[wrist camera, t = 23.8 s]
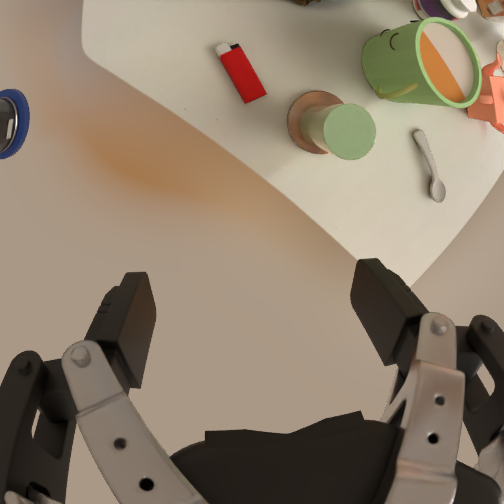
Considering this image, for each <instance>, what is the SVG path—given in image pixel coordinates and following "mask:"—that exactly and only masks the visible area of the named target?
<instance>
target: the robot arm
mask: <svg viewBox="0 0 504 504" xmlns="http://www.w3.org/2000/svg"><path fill="white" fill-rule="evenodd" d="M18 128H19V110H18V107H17V104H16V102H15V101H14V100H13V99H12V98H10V97H0V153H1V152H3V151H6V150H7V149H9V148H10V146H11V145H12V144H13V142H14V140H15V138H16V136H17V133H18ZM350 297H351V304H352V307H353V309H354V310H355V312H356V314H357V316H358V318H359V319H360V321H361V323H362V325H363V326H364V328H365V330H366V332H367V334H368V336H369V337H370V339H371V341H372V343H373V345H374V347H375V348H376V350H377V352H378V354H379V356H380V358H381V360H382V362H383V364H384V365H385V366H388V365H392V364H397V366H398V368H397V370H396V373H395V376H394V380H393V384H392V387H391V391H390V394H389V398H388V401H387V404H386V407H385V410H384V413H383V415H382V417H381V419H380V421H375V420H364V418H363V415H362V413H361V411H357V412H353V413H349V414H344V415H340V416H335V417H331V418H326V419H323V420H321V421H319V422H317V423H314V424H312V425H310V426H307V427H305V428H302V429H300V430H297V431H295V432H292V433H289V434H280V433H271V432H262V431H253V430H246V429H243V430H226V431H205V441H201V442H198V443H194V444H191V445H189V446H187V447H185V448H182V449H181V450H179V451H177V452H176V453H174V454H173V455H171V456H169V455H168V454H167V453H166V451H165V450H164V449H163V447H162V446H161V445H160V443H159V442H158V441H157V439H156V438H155V437H154V435H153V434H152V432H151V431H150V430H149V428H148V427H147V426H146V424H145V422H144V421H143V420H142V418H141V416H140V415H139V413H138V412H137V410H136V409H135V407H134V406H133V404H132V402H131V401H130V399H129V397H128V394H129V390H130V388H139V389H140V388H141V384H142V379H143V374H144V369H145V364H146V360H147V356H148V351H149V347H150V342H151V338H152V334H153V329H154V326H155V322H156V306H155V302H154V298H153V294H152V290H151V286H150V283H149V278H148V275H147V273H146V272H128V273H126V274H125V276H124V278H123V280H122V282H121V284H120V286H114V287H113V288H112V289H111V290H110V291H109V292H108V293H107V294H106V295H105V297H104V299H103V301H102V303H101V306H100V307H99V309H98V311H97V313H96V315H95V317H94V319H93V321H92V323H91V325H90V327H89V330H88V332H87V334H86V336H85V338H84V340H82V341H79V342H76V343H74V344H72V345H71V346H70V347H69V348H67V349H66V351H65V352H64V354H63V356H62V358H61V359H55V360H50V361H44V362H43V360H42V359H41V357H40V356H39V355H38V354H37V353H36V352H34V351H24V352H22V353H20V354H18V355H17V356H16V357H15V358H14V359H13V360H12V362H11V364H10V366H9V368H8V370H7V372H6V374H5V377H4V379H3V381H2V384H1V386H0V504H65V498H66V487H67V478H68V471H69V463H70V457H71V450H72V444H73V439H74V434H75V429H76V424H77V423H78V426H79V428H80V431H81V433H82V435H83V438H84V440H85V442H86V444H87V446H88V448H89V451H90V452H91V455H92V457H93V458H94V461H95V462H96V464H97V466H98V468H99V470H100V472H101V473H102V475H103V477H104V479H105V480H106V482H107V484H108V485H109V487H110V489H111V491H112V492H113V494H114V496H115V497H116V499H117V500H118V502H119V503H120V504H504V332H503V331H502V329H501V328H500V327H499V326H498V325H497V323H496V322H495V321H494V320H492V319H491V318H489V317H487V316H484V315H477V316H474V317H473V319H472V321H471V323H470V325H469V326H468V327H467V326H455V325H454V323H453V322H452V320H451V319H449V318H448V317H447V316H445V315H443V314H440V313H436V312H429V311H428V310H427V309H426V307H425V306H424V305H423V304H422V302H421V301H420V300H419V299H418V298H417V296H416V295H415V294H414V293H413V292H411V289H410V288H409V287H408V286H407V285H406V283H405V282H404V281H403V280H402V279H401V278H400V276H399V275H397V274H395V273H394V272H392V271H391V270H389V269H387V268H386V267H385V266H384V265H383V264H382V263H381V262H380V260H379V259H377V258H370V259H359V260H358V261H357V264H356V268H355V273H354V279H353V283H352V288H351V293H350ZM483 363H484V365H485V366H486V368H487V370H488V371H489V373H490V375H491V376H492V378H493V380H494V382H495V389H494V392H493V393H492V395H491V396H489V394H488V392H487V390H486V388H485V387H484V385H483V383H482V382H481V380H480V378H479V377H478V375H477V371H478V370H479V368H480V367H481V365H482V364H483ZM37 409H38V410H39V411H40V415H39V419H38V422H37V426H36V430H35V434H34V438H32V432H31V431H32V425H33V422H34V418H35V415H36V412H37ZM462 420H463V422H464V424H465V426H466V428H467V431H468V433H469V435H470V438H471V440H472V442H473V445H474V447H475V449H476V452H477V454H478V457H479V458H478V463H477V464H476V465H475V466H474V469H473V468H471V467H469V466H467V465H465V464H463V463H461V462H459V461H457V460H456V459H457V454H458V448H459V442H460V435H461V428H462Z"/></svg>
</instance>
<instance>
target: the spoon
mask: <svg viewBox="0 0 504 504" xmlns="http://www.w3.org/2000/svg"><path fill="white" fill-rule="evenodd" d="M413 136H414V138H415V140H416V142H417V143H418V145H419V147H420V148H421V150H422V152H423V154H424V156H425V158H426V160H427V162H428V165H429V167H430V170H431V174H432V182H431V185H430V194H431V197H432V198H433V200H434V201H435V202H437V203H441V202H442V201H443V200H444V199H445V195H446V190H445V186H444V184H443V182H442V181H441V180H440V179H439V178H438V174H437V169H436V165H435V162H434V158H433V155H432V153H431V150H430V147H429V144H428V141H427V138H426V136H425V133H424V131H423V130H417V131H415V132H414V133H413Z"/></svg>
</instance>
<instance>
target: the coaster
mask: <svg viewBox="0 0 504 504" xmlns="http://www.w3.org/2000/svg"><path fill="white" fill-rule="evenodd" d="M317 104H344V103H343V102H342V101H341V100H340V99H339V98H338V97H336V96H334V95H333V94H330V93H328V92H324V91H313V92H309V93H306V94H303V95H302V96H300V97H299V98H297V99H296V100H295V101H294V103H293V104H292V106H291V107H290V110H289V113H288V118H287V124H288V130H289V132H290V135H291V137H292V138H293V140H294V141H295V142H296V143H297V144H298V145H299V146H300V147H301V148H303V149H304V150H306V151H308V152H311V153H315V154H327V153H329V152H326V151H324V150H322V149H320V148H317V147H315V146H313V145H311V144H309V143H308V142H307V141H306V140H305V139H304V138H303V136H302V134H301V132H300V126H299V124H300V118H301V116H302V114H303V113H304V111H305V110H306V109H307V108H309V107H311V106H313V105H317Z"/></svg>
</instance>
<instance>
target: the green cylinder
mask: <svg viewBox="0 0 504 504" xmlns="http://www.w3.org/2000/svg"><path fill="white" fill-rule="evenodd" d="M299 126H300V132H301V134H302V136H303V138H304V139H305V140H306V141H307V142H308V143H309V144H311V145H313V146H315V147H317V148H320V149H322V150H324V151H326V152H329V153H331V154H333V155H335V156H337V157H339V158H342V159H345V160H356V159H359V158H362V157H363V156H365V155H366V154H367V153H368V152H369V151H370V150H371V149H372V147H373V145H374V142H375V139H376V127H375V124H374V121H373V119H372V117H371V116H370V114H369V113H368V112H367V111H366V110H365V109H364V108H362V107H360V106H358V105H355V104H317V105H313V106H311V107H309V108H307V109H306V110H305V111H304V113H303V114H302V116H301V118H300V124H299Z"/></svg>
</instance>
